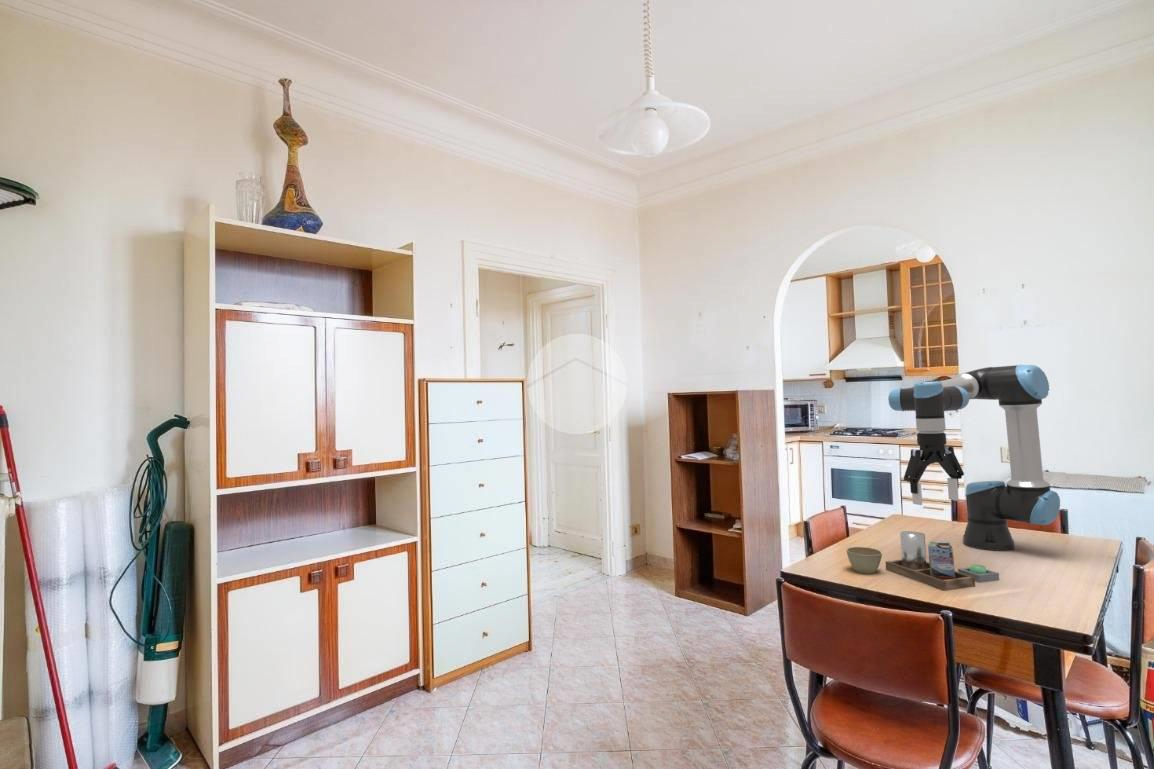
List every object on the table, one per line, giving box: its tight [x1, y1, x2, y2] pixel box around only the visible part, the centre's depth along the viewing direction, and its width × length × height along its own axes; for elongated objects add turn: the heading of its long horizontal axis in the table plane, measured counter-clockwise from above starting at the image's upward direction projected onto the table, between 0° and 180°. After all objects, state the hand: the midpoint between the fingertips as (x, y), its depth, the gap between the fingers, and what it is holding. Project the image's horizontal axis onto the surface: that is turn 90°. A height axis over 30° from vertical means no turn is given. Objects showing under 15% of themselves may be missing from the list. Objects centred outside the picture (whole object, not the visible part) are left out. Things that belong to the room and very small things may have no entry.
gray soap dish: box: [957, 566, 1000, 583], centre depth 166 cm, size 7×7×3 cm
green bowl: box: [846, 546, 883, 574], centre depth 177 cm, size 10×10×7 cm
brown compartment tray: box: [885, 559, 976, 592], centre depth 168 cm, size 11×21×4 cm, turn 13°
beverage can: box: [927, 540, 956, 580], centre depth 163 cm, size 6×7×12 cm
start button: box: [969, 564, 987, 574], centre depth 166 cm, size 4×4×3 cm
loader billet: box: [899, 530, 927, 570], centre depth 173 cm, size 7×7×12 cm
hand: (935, 502), depth 170 cm, fingers open, 13 cm apart
